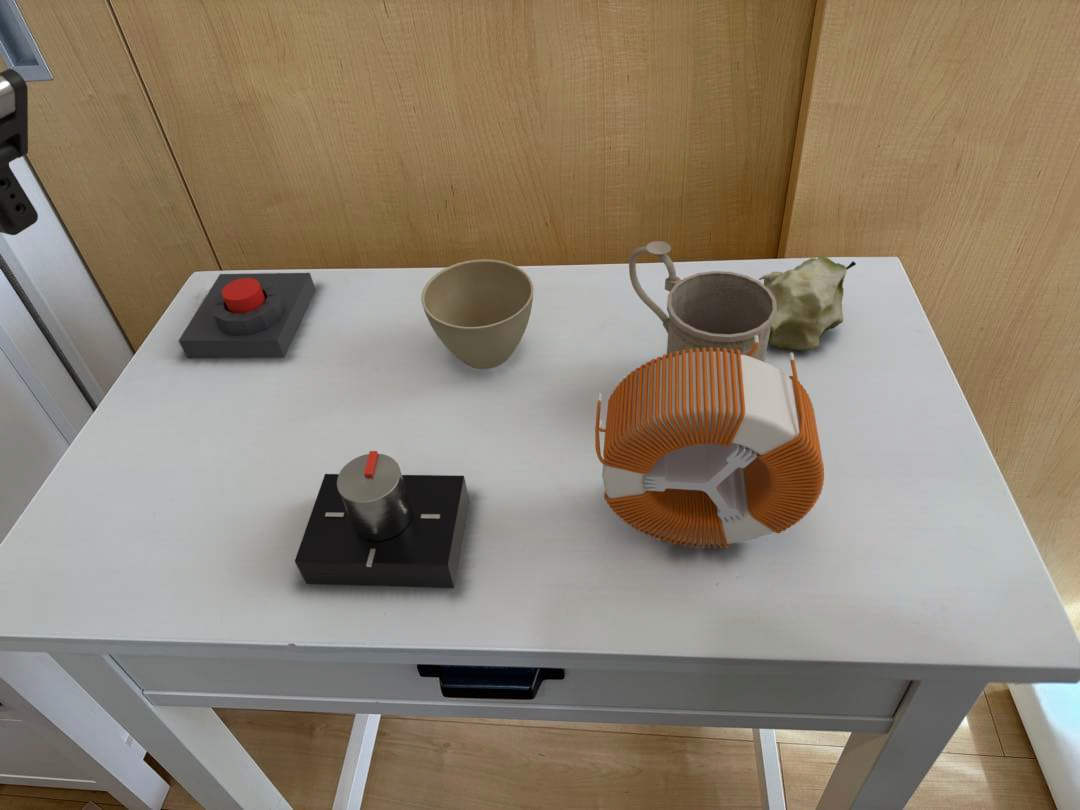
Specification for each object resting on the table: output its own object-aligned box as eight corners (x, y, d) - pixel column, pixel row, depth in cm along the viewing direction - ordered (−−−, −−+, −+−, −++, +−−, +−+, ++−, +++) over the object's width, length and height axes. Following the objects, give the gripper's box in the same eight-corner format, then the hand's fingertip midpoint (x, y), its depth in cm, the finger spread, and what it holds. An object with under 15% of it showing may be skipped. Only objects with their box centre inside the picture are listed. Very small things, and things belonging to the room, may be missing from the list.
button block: (284, 357, 74) (271, 325, 71) (187, 357, 75) (170, 326, 72) (315, 289, 82) (305, 258, 79) (227, 290, 83) (213, 259, 80)
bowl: (426, 388, 70) (412, 327, 65) (443, 319, 77) (431, 260, 72) (535, 387, 69) (529, 326, 64) (541, 318, 76) (536, 257, 71)
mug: (791, 387, 67) (816, 273, 58) (722, 449, 62) (739, 336, 54) (662, 318, 74) (668, 210, 66) (593, 369, 70) (590, 259, 62)
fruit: (823, 307, 76) (858, 244, 70) (831, 376, 70) (870, 314, 64) (732, 289, 76) (759, 225, 70) (733, 357, 70) (762, 294, 64)
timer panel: (305, 587, 56) (292, 563, 53) (335, 494, 62) (325, 469, 59) (453, 592, 54) (446, 567, 52) (469, 496, 61) (464, 471, 58)
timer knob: (407, 541, 54) (393, 499, 51) (346, 541, 55) (329, 500, 51) (416, 492, 57) (404, 449, 54) (359, 492, 58) (343, 450, 54)
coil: (802, 559, 54) (848, 414, 44) (593, 545, 56) (588, 403, 46) (792, 483, 59) (831, 337, 49) (599, 473, 61) (597, 330, 51)
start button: (258, 314, 73) (252, 299, 72) (222, 314, 74) (215, 300, 73) (270, 291, 76) (264, 277, 75) (235, 292, 76) (229, 277, 75)
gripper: (-378, -101, 33) (-111, 240, 45) (-200, -93, 29) (43, 283, 41) (-203, -139, 38) (-3, 180, 50) (-26, -137, 33) (145, 212, 46)
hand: (17, 226), depth 45 cm, fingers closed
